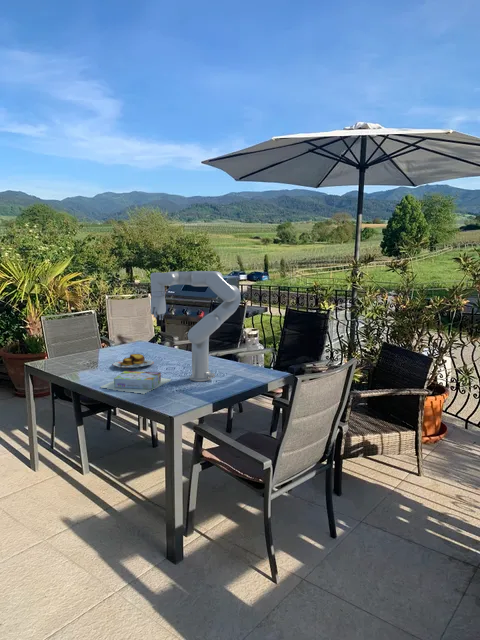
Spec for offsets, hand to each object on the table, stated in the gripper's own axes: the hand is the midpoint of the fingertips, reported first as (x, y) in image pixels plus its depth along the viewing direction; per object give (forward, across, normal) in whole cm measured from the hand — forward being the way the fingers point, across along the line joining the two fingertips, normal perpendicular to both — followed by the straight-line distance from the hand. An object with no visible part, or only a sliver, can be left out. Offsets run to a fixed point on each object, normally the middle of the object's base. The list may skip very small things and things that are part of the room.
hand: (159, 326), depth 244 cm
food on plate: (+30, -15, -29) cm, 45 cm away
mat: (+30, +17, -7) cm, 35 cm away
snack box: (+26, +12, -6) cm, 29 cm away
